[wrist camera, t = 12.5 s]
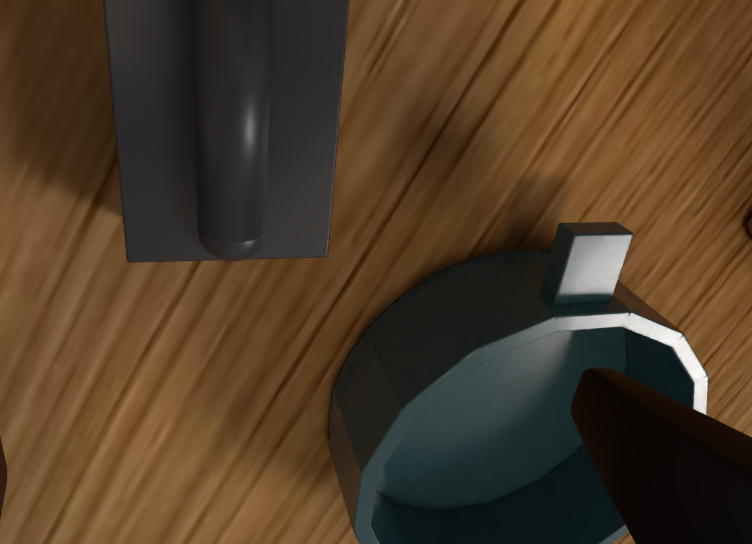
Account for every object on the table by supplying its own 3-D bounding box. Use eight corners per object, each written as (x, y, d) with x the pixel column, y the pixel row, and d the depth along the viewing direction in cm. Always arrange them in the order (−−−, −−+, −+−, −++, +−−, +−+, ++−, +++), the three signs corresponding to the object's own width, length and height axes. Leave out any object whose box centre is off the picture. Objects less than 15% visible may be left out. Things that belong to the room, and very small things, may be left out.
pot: (313, 567, 31) (334, 666, 27) (350, 185, 21) (392, 248, 17) (570, 520, 36) (622, 599, 31) (696, 188, 26) (796, 238, 22)
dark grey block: (132, 224, 20) (123, 284, 16) (102, -138, 15) (81, -157, 12) (312, 222, 22) (336, 275, 18) (334, -103, 17) (372, -111, 14)
